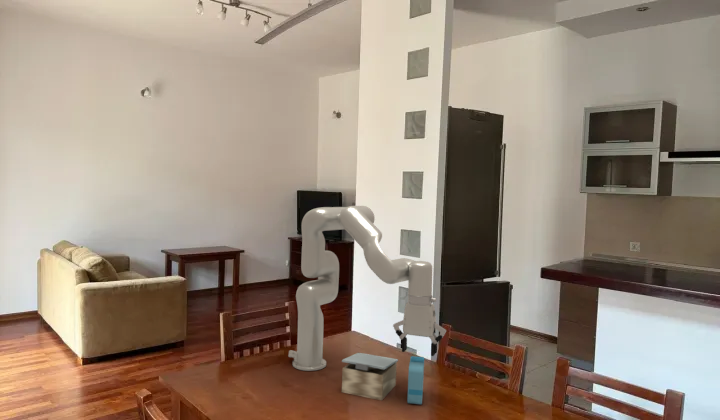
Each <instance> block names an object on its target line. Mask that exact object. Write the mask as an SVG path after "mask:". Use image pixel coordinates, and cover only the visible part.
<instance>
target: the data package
mask: <svg viewBox="0 0 720 420" xmlns="http://www.w3.org/2000/svg"><path fill="white" fill-rule="evenodd" d="M409 359H410V360H409V364H408V377H407V404H414V405H422V404H423V392H424V377H425V376H424V373H425V357H424V356H413V355H412V356H410V358H409Z"/></svg>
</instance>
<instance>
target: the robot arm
mask: <svg viewBox="0 0 720 420" xmlns="http://www.w3.org/2000/svg"><path fill="white" fill-rule="evenodd" d="M375 220H376V219H375V213H374V211H373V210H372V209H371V208H369V207H368V206H367V205H350V206H333V207H332V206H323V207H316V208H313V209H311V210H309V211H307V212H306V213H305V214H304V216H303V218H302V220H301V238H302V239H301V242H302V244H301V245H302V246H301V258H300V259H301V262H300V263H301V264H300V267H301V268H300V269H301V274H302V275H303V276H304V277H306V278H308V279H315V278H317V279H315V280H309V281H306V282H303V283H302V284H300V285H299V286H298V287H297V290H296V293H295V300H296V305H297V341H296V342H297V344H296V345H297V347H296V349H297V350H291V349H290V350H288V355H287V356H288V358H293V360H292V367H293V368H295V369H297V370H299V371H304V372H305V371H306V372H310V371H319V370H322V369H324V368H325V367H326V366H327V360H326V359H324V358H323V354H324V353H323V349H324V348H323V347H324V322H325V321H324V314H323V312H322V309H321V306H322V305H326V304H329V303H332V302H333V301H335V300H336V298H337V297H338V293H339V280H340V279H339V278H340V262H339V258H338V256H337V254H335V252H333V251H331V250H326V239H325V236H324V233H323V232H325V231H339V230H345V231H346V232H347V233H348V235H350V237H351V238H352V239H353V240H354V241H355V242H356V243H357V244H358V245H359V246H360V248H362V250H363V256H364V259H365V262H366V264H367V267H369V269H370V270H371V271H372V272H373V273H374V275H376V277H377V278H378V279H380V280H381V281H382V282H383V283H385V284H388V285H394V284H398V283H402V282H406V281H407V284H408V285H407V286H408V287H407V289H408V290H407V302H406V303H405V306H404V313H403V319H402V320H400V321H397V322H395V323H394V324H393V325H392V327H393V329H394V330H395V334H396V335H397V336H398V337H399V340H400V349H401V352H402V353H404V352H406V351H407V349H408V347H407V346H408V338H407V335H409V336H415V337H423V338H429V339H430V341H431V342H432V343H431V344H430V345H431V346H430V356H431V357H434V356H435V355H436V354H437V353H438V343H439V341H441V340H442V339H443V338H444V336H445V335H446V332H447V329H446V328H444V327H442V326H441V325H440V324H437V317H436V315H437V314H436V309H435V304H433V303H436V302H437V297H434V296H433V265H432V263H431V262H429V261H424V260H415V259H414V260H413V259H410V258H405V257H401V258H397V259H396V258H394V259H391V258H390V257H388V256H387V255H386V254H385V252H384V251H383V249H381V245H380V242H381V240H382V238H383V232H382V231H381V230H380V229H379V228H378V227H377V226H376V225H375V224H374V222H375ZM401 326H402V330H401V329H400V327H401ZM437 331H438V332H439V335H438V336H437V335H436V332H437Z"/></svg>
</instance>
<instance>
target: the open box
mask: <svg viewBox="0 0 720 420" xmlns="http://www.w3.org/2000/svg"><path fill="white" fill-rule="evenodd" d="M397 362H398V361H397ZM397 362H396V363H394V364H393V365H391V366H389V367H388V368H386V369H378V368H373V367H368V370H361V369H356V364H351V363H346V365H345V366H344V367H342V372H341V374H342V376H341V382H342V383H341V393H345V394H350V395H353V396H358V397H363V398H368V399H373V400H377V401H378V400H379V401H383V399H385V397H387V396H388V394H389V393H390V392H391V391H392V390H393V389H394V388H395V386H396V384H397Z"/></svg>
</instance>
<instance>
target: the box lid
mask: <svg viewBox="0 0 720 420" xmlns="http://www.w3.org/2000/svg"><path fill="white" fill-rule="evenodd" d="M396 362H399V359H397V358H393V357H386V356H380V355H375V354H371V353H370V354H368V353H363V352H362V353H361V352H356V353H355V354H352V355H350V356H348V357H346V358H343V359H342V360H341V363H346V364H349V363H351V364H356V369H361V370H368V367H373V368H378V369H386V368H388V367H389V366H391V365H393V364H394V363H396Z"/></svg>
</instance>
